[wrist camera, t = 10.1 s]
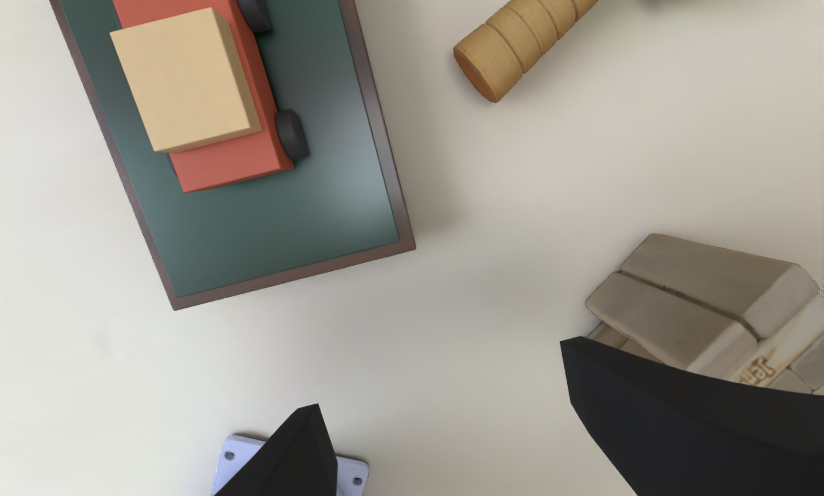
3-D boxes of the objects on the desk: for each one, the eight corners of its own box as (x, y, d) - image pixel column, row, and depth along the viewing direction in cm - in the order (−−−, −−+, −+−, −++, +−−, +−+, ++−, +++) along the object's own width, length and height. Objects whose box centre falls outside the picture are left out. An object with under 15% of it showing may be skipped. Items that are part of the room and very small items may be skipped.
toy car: (313, 164, 16) (290, 164, 12) (202, 192, 16) (144, 200, 12) (257, -25, 14) (211, -93, 11) (135, 5, 14) (45, -52, 11)
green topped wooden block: (413, 239, 20) (417, 251, 17) (200, 293, 20) (167, 314, 17) (321, -126, 16) (307, -189, 14) (65, -62, 16) (-5, -112, 14)
